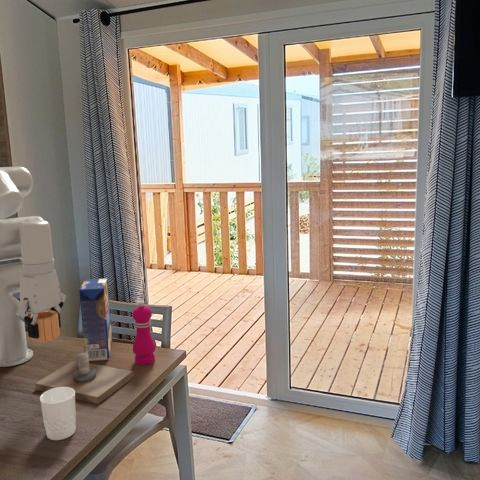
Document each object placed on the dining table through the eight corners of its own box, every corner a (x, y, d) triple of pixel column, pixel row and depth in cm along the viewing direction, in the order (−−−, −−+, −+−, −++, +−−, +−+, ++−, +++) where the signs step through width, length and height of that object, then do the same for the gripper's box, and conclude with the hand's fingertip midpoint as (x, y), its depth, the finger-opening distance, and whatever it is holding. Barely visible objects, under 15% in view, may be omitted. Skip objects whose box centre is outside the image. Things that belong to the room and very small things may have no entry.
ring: (25, 339, 129) (23, 317, 128) (45, 329, 135) (43, 309, 134) (45, 343, 126) (43, 321, 125) (65, 333, 132) (63, 312, 131)
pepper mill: (151, 366, 152) (147, 305, 149) (129, 365, 154) (125, 304, 150) (159, 356, 159) (156, 298, 155) (138, 355, 161) (135, 297, 157)
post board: (35, 389, 139) (32, 360, 138) (74, 366, 154) (71, 339, 152) (98, 403, 131) (95, 372, 129) (132, 377, 146) (131, 349, 144)
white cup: (49, 424, 122) (45, 387, 120) (81, 422, 123) (78, 385, 121) (39, 443, 114) (35, 404, 112) (73, 441, 115) (70, 402, 113)
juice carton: (109, 359, 158) (103, 288, 154) (85, 361, 157) (79, 290, 152) (112, 344, 170) (107, 278, 165) (90, 346, 169) (84, 279, 164)
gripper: (52, 259, 136) (58, 319, 140) (0, 275, 121) (8, 342, 124) (73, 261, 133) (78, 323, 137) (22, 278, 118) (29, 347, 121)
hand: (45, 331), depth 130 cm, fingers closed on ring, 7 cm apart
